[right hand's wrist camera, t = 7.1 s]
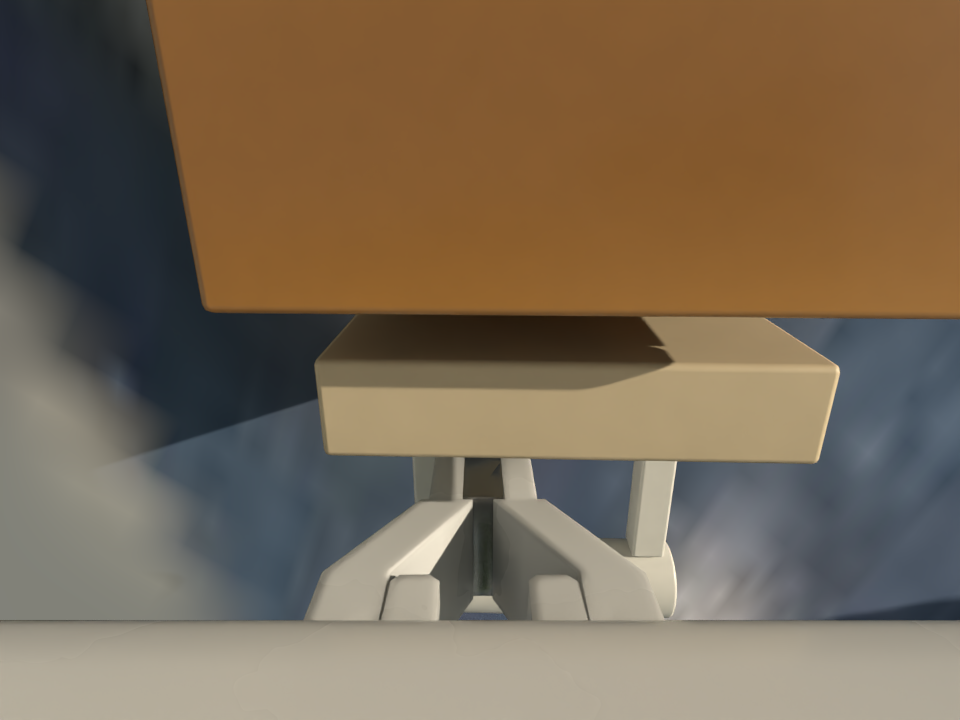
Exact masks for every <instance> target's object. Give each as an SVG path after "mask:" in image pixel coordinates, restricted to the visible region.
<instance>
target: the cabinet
mask: <svg viewBox="0 0 960 720" xmlns="http://www.w3.org/2000/svg"><path fill="white" fill-rule="evenodd" d="M146 4H147V10H148V15H149V20H150V26H151V31H152V37H153V42H154V47H155V53H156V58H157V64H158V69H159V74H160V80H161V85H162V90H163V96H164V101H165V107H166V112H167V117H168V123H169V128H170V134H171V139H172V144H173V150H174V155H175V161H176V166H177V171H178V177H179V182H180V188H181V193H182V198H183V204H184V209H185V215H186V220H187V225H188V231H189V236H190V242H191V247H192V252H193V258H194V263H195V269H196V274H197V279H198V285H199V290H200V296H201V301H202V305H203V307H204V308H205V310H207V311H210V312H214V313H275V314H392V315H510V316H627V317H744V318H862V319H960V0H146Z"/></svg>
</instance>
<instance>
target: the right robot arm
mask: <svg viewBox="0 0 960 720" xmlns="http://www.w3.org/2000/svg"><path fill="white" fill-rule="evenodd" d="M473 596H492V598H493V600H494V601H495V603H496V604H497V605H498V607H499V608H500V609H501V611H502V612H503V613H504V615H505V616H506V618H507V619H508V620H458V619H459V618H460V616H461V615H462V614H463V612H464V611H465V610H466V608H467V607H468V605H469V604H470V603H471V601H472V600H473ZM0 720H960V620H664V617H663V614H662V612H661V609H660V607H659V604H658V602H657V599H656V597H655V594H654V592H653V589H652V587H651V584H650V582H649V579H648V577H647V574H646V573H645V572H644V571H643V570H641V569H640V568H638V567H637V566H636V565H634V564H633V563H632V562H630V561H629V560H627V559H626V558H625V557H623V556H622V555H621V554H619V553H618V552H617V551H615V550H614V549H612V548H611V547H610V546H608V545H607V544H606V543H604V542H603V541H601V540H600V539H599V538H597V537H596V536H595V535H593V534H592V533H591V532H589V531H588V530H586V529H585V528H584V527H582V526H581V525H580V524H578V523H577V522H575V521H574V520H573V519H571V518H570V517H569V516H567V515H566V514H565V513H563V512H562V511H560V510H559V509H558V508H556V507H555V506H554V505H552V504H551V503H549V502H548V501H547V500H545V499H537V495H536V489H535V484H534V478H533V472H532V466H531V460H530V459H519V458H464V457H435V461H434V468H433V475H432V481H431V488H430V495H429V499H421V500H419V501H418V502H417V503H415V504H414V505H413V506H411V507H410V508H408V509H407V510H406V511H404V512H403V513H402V514H400V515H399V516H398V517H396V518H395V519H394V520H392V521H391V522H389V523H388V524H387V525H385V526H384V527H383V528H381V529H380V530H379V531H377V532H376V533H375V534H373V535H372V536H371V537H369V538H368V539H366V540H365V541H364V542H362V543H361V544H360V545H358V546H357V547H356V548H354V549H353V550H352V551H350V552H349V553H347V554H346V555H345V556H343V557H342V558H341V559H339V560H338V561H337V562H335V563H334V564H333V565H331V566H330V567H329V568H327V569H326V570H324V571H323V572H322V574H321V576H320V579H319V582H318V584H317V587H316V589H315V592H314V595H313V597H312V600H311V602H310V605H309V607H308V610H307V613H306V615H305V618H304V620H0Z"/></svg>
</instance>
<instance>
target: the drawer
mask: <svg viewBox="0 0 960 720" xmlns="http://www.w3.org/2000/svg"><path fill="white" fill-rule="evenodd" d="M314 366H315V375H316V384H317V392H318V401H319V410H320V418H321V427H322V435H323V444H324V450H325V452H326V454H329V455H352V456H408V457H413V476H414V495H415V503H417V502H418V501H419V500H421V499H429V495H430V488H431V481H432V475H433V468H434V461H435V457H464V458H519V459H575V460H630V461H634V467H633V476H632V485H631V494H630V503H629V512H628V521H627V531H626V538H627V539H620V538H599V539H600V540H601V541H603V542H604V543H606V544H607V545H608V546H610V547H611V548H612V549H614V550H615V551H617V552H618V553H619V554H621V555H622V556H623V557H625V558H626V559H627V560H629V561H630V562H632V563H633V564H634V565H636V566H637V567H638V568H640V569H641V570H643V571H644V572H645V573H646V574H647V577H648V579H649V582H650V584H651V587H652V589H653V592H654V594H655V597H656V599H657V602H658V604H659V607H660V609H661V612H662V614H663V617H664V618H669V617H671V616H672V615H673V613H674V610H675V606H676V598H677V582H676V572H675V566H674V561H673V557H672V554H671V551H670V549H669V547H668V545H667V543H666V542H665V541H666V534H667V527H668V520H669V513H670V506H671V499H672V492H673V485H674V478H675V471H676V464H677V461H686V462H742V463H797V464H813V463H816V462H817V461H818V459H819V456H820V452H821V448H822V444H823V440H824V436H825V432H826V428H827V424H828V420H829V415H830V411H831V407H832V403H833V399H834V395H835V391H836V387H837V383H838V379H839V375H840V371H839V367H838V366H837V365H836V364H834V363H833V362H831V361H830V360H828V359H826V358H825V357H823V356H822V355H820V354H819V353H817V352H816V351H814V350H813V349H811V348H810V347H808V346H807V345H805V344H804V343H802V342H800V341H799V340H797V339H796V338H794V337H793V336H791V335H790V334H788V333H787V332H785V331H784V330H782V329H781V328H779V327H777V326H776V325H774V324H773V323H771V322H770V321H768V320H767V319H765V318H744V317H627V316H510V315H392V314H356V315H355V316H354V317H353V318H352V320H351V321H350V322H349V323H348V324H347V325H346V326H345V328H344V329H343V330H342V331H341V332H340V333H339V334H338V335H337V337H336V338H335V339H334V340H333V341H332V342H331V343H330V345H329V346H328V347H327V348H326V349H325V350H324V351H323V353H322V354H321V355H320V356H319V357H318V358H317V359H316V362H315V365H314ZM464 612H474V613H503V612H502V611H501V609H500V608H499V607H498V605H497V604H496V603H495V601H494V600H493V598H492V596H473V600H472V601H471V603H470V604H469V605H468V607H467V608H466V610H465V611H464Z"/></svg>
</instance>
